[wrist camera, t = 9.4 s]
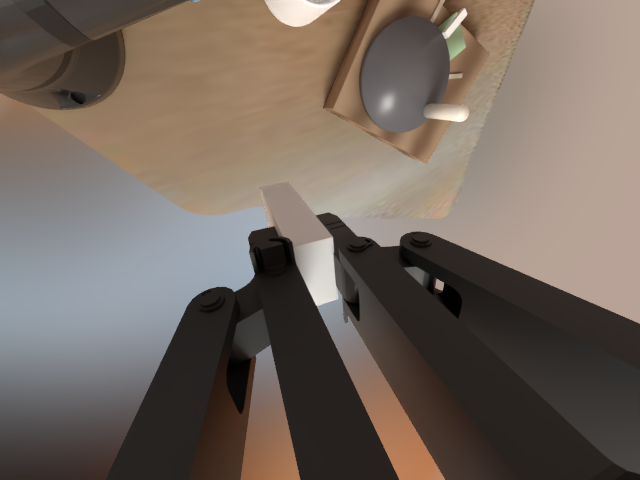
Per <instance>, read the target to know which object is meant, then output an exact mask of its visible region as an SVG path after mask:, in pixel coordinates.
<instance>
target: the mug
mask: <svg viewBox="0 0 640 480" xmlns="http://www.w3.org/2000/svg"><path fill="white" fill-rule="evenodd" d="M339 1H340V0H265V2H266V4H267V6H268V8H269V9H270V11H271V12H272V14H273V15H274V16H275V17H276V18H277V19H278V20H280V21H281V22H283V23H284V24H287V25H289V26H294V27H300V26H304V25H307V24H309V23H311V22H312V21H314V20H315V19H316V18H318V17H319V16H320V15H322V14H323V13H324V12H326V11H327V10H328V9H330V8H331V7H332V6H334V5H335V4H336V3H338V2H339Z"/></svg>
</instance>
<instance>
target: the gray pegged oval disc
mask: <svg viewBox="0 0 640 480" xmlns="http://www.w3.org/2000/svg"><path fill="white" fill-rule="evenodd" d="M466 16H467V12H466V9H465V8H463V9H461V10H460V11H459V13H458V14H457V15H456V16H455V18H454V19H453V20H452V21H451V23H450V24H449V25H448V26H447V28H446V29H445V30H444V31H443V32H441V31H440V29H439V28H438V27H437V26H436V25H435V24H434V23H433V22H432V21H430V20H428V19H426V18H423V17H420V16H408V17H404V18H401V19H399V20H396V21H394V22H392V23H390V24H389V25H387V26H386V27H384V28H383V29H382V30H381V31H380V32H379V33H378V34H377V35H376V36H375V38H374V39H373V41H372V42H371V44H370V45H369V47H368V49H367V51H366V54H365V56H364V59H363V62H362V66H361V71H360V81H359V86H360V96H361V101H362V104H363V107H364V109H365V111H366V113H367V115H368V117H369V118H370V119H371V121H372V122H373V123H374V124H375V125H377V126H378V127H380V128H382V129H383V130H386V131H390V132H396V133H404V132H409V131H412V130H414V129H416V128H418V127H420V126H421V125H423V124H424V123H425V122H426V121H427V120H428V119H429V118H432V119H441V120H450V121H459V122H462V121H464V120H466V119H467V117H468V115H469V107H468V106H467V105H455V104H440V103H441V101H442V99H443V97H444V94H445V92H446V88H447V85H448V80H449V74H450V55H449V50H448V46H447V43H446V40H445V39H446V38H449V36H450V35H451V34H452V33H453V32H454V30H455V29H456V28H457V27H458V25H459V24H460V23H461V22H462V20H463V19H464V18H465V17H466Z"/></svg>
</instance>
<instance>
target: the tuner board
mask: <svg viewBox="0 0 640 480" xmlns="http://www.w3.org/2000/svg"><path fill="white" fill-rule="evenodd" d="M444 1H445V0H439V1H438V0H368V3H367V5H366V7H365V10H364V12H363V15H362V17H361V19H360V22H359V24H358V27H357V29H356V31H355V34H354V36H353V39H352V41H351V43H350V46H349V48H348V50H347V53H346V55H345V58H344V60H343V62H342V65H341V67H340V70H339V72H338V74H337V77H336V79H335V82H334V84H333V86H332V89H331V91H330V93H329V96H328V98H327V101H326V103H325V105H324V109H326V110H328V111H330V112H331V113H333V114H335V115H337V116H338V117H340V118H342V119H344V120H346V121H347V122H349V123H351V124H353V125H354V126H356V127H358V128H360V129H361V130H363V131H365V132H367V133H368V134H370V135H372V136H374V137H375V138H377V139H379V140H381V141H383V142H384V143H386V144H388V145H390V146H391V147H393V148H395V149H397V150H398V151H400V152H402V153H404V154H405V155H407V156H409V157H411V158H412V159H415V160H418V161H421V162H424V163H428V161H429V159H430V158H431V156H432V154H433V152H434V151H435V149H436V147H437V145H438V144H439V142H440V140H441V138H442V137H443V135H444V133H445V131H446V130H447V128H448V126H449V124H450V123H451V121H450V120H441V119H432V118H429V119H428V120H427V121H426V122H425V123H424V124H423V125H421V126H420V127H418V128H416V129H414V130H412V131H409V132H404V133H396V132H390V131H386V130H383V129H382V128H380V127H378V126H377V125H375V124H374V123H373V122H372V121H371V119H370V118H369V117H368V115H367V113H366V111H365V109H364V107H363V104H362V101H361V96H360V86H359V81H360V71H361V66H362V62H363V59H364V56H365V54H366V51H367V49H368V47H369V45H370V44H371V42H372V41H373V39H374V38H375V36H376V35H377V34H378V33H379V32H380V31H381V30H382V29H383V28H384V27H386V26H387V25H389V24H390V23H392V22H394V21H396V20H399V19H401V18H404V17H408V16H420V17H423V18H426V19H428V20H430V21H432V22H433V23H434V24H435V25H436V26H437V27H438V28H439V29H440V31H441V32H443V31H444V30H445V29H446V28H447V26H448V25H449V24H450V23H451V21H452V20H453V19H454V18H455V16H456V15H457V14H458V12H455V13H454V14H453V15H452V14H451V13H450V12H449V11H448V10H447V9H446V8H445V7H444V6H443V3H444ZM445 40H446V43H447V46H448V50H449V55H450V74H449V80H448V85H447V88H446V92H445V94H444V97H443V99H442V101H441V103H440V104H455V105H461V103H462V102H463V100H464V98H465V96H466V95H467V93H468V91H469V89H470V88H471V86H472V84H473V82H474V81H475V79H476V77H477V75H478V74H479V72H480V70H481V68H482V67H483V65H484V63H485V61H486V60H487V58H488V56H489V53H488V52H487V51H486V49H485V48H484V47H483V46H482V45H481V44H480V43H479V42H478V41H477V40H476V39H475V38H474V37H473V36H472V35H471V34H470V33H469V32H468V31H467V30H466V29H465V28H464V27H463V26H462V25H461V24H459V25H458V27H457V28H456V29H455V30H454V32H453V33H452V34H451V35H450V36H449V38H446V39H445Z"/></svg>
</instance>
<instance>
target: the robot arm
mask: <svg viewBox="0 0 640 480" xmlns="http://www.w3.org/2000/svg"><path fill="white" fill-rule="evenodd" d="M186 1H188V0H0V93H1V94H3V95H5V96H7V97H9V98H11V99H14V100H17V101H19V102H22V103H25V104H28V105H32V106H36V107H40V108H46V109H54V110H70V109H80V108H86V107H89V106H92V105H95V104H97V103H99V102H101V101H103V100H105V99H106V98H107V97H108V96H110V95H111V94H112V93H113V91H114V90H115V89H116V87H117V86H118V84H119V82H120V80H121V78H122V75H123V71H124V66H125V48H124V42H123V37H122V33H121V30H120V29H123V28H125V27H127V26H130V25H132V24H134V23H137V22H139V21H141V20H144V19H146V18H148V17H151V16H153V15H156V14H158V13H160V12H163V11H165V10H167V9H170V8H172V7H174V6H177V5H179V4H181V3H184V2H186ZM191 1H192V2H198V1H200V0H191ZM260 189H261V194H262V198H263V203H264V207H265V212H266V216H267V221H268V225H269V228H265V229H261V230H256V231H252V232H251V234H250V236H249V237H248V240H249V245H250V251H249V253H250V257H251V261H252V265H253V268H254V272H255V275H254V278H253V279H252V280H251V282H250V283H249V284H247V285H246V286H245V287H243V288H241V289H239V290H238V291H236V292H233V291H232V289H229V288H227V287H216V288H212V289H208V290H206V291H204V292H202V293H200V294H199V295H197V296H196V297H195V298H193V299H192V301H191V302H190V303H189V305H188V306H187V308H186V310H185V313H184V315H183V317H182V319H181V321H180V323H179V325H178V327H177V330H176V332H175V334H174V336H173V338H172V340H171V343H170V345H169V346H168V349H167V351H166V353H165V355H164V357H163V359H162V361H161V363H160V366H159V368H158V370H157V372H156V374H155V376H154V378H153V380H152V383H151V385H150V387H149V389H148V391H147V393H146V395H145V397H144V400H143V402H142V404H141V406H140V408H139V410H138V412H137V414H136V416H135V419H134V421H133V423H132V425H131V427H130V429H129V431H128V433H127V436H126V438H125V440H124V442H123V444H122V446H121V448H120V450H119V452H118V455H117V457H116V459H115V461H114V463H113V465H112V467H111V469H110V472H109V474H108V476H107V478H106V480H240V478H241V470H242V463H243V455H244V447H245V440H246V432H247V424H248V417H249V408H250V400H251V393H252V385H253V378H254V370H255V363H256V354H257V353H259V352H260V351H262V350H263V349H265V348H266V347H268V346H269V345H271V348H272V353H273V357H274V361H275V366H276V371H277V375H278V379H279V384H280V389H281V393H282V398H283V402H284V407H285V411H286V416H287V420H288V425H289V429H290V434H291V439H292V443H293V448H294V452H295V457H296V461H297V466H298V470H299V475H300V479H301V480H399V478H398V476H397V474H396V472H395V470H394V468H393V466H392V464H391V462H390V459H389V457H388V455H387V453H386V451H385V449H384V448H383V445H382V443H381V441H380V438H379V436H378V434H377V432H376V430H375V428H374V426H373V424H372V422H371V420H370V417H369V415H368V413H367V411H366V409H365V407H364V405H363V403H362V401H361V399H360V397H359V394H358V392H357V390H356V388H355V386H354V384H353V382H352V380H351V378H350V376H349V373H348V371H347V369H346V367H345V365H344V363H343V361H342V359H341V357H340V355H339V353H338V350H337V348H336V346H335V344H334V342H333V340H332V338H331V336H330V334H329V332H328V329H327V327H326V325H325V323H324V321H323V319H322V317H321V315H320V313H319V311H318V308H317V306H318V305H321V304H324V303H327V302H330V301H333V300H337V299H338V291H337V288H338V290H339V291H340V293H341V294H342V301H343V315H344V321H345V323H347V322H348V318H347V316H349V317H350V319H351V321H352V323H353V324H354V326H355V328H356V329H357V331H358V333H359V334H360V336H361V338H362V339H363V341H364V343H365V345H366V346H367V348H368V350H369V351H370V353H371V354H372V356H373V358H374V360H375V361H376V363H377V364H378V366H379V368H380V370H381V371H382V373H383V375H384V377H385V378H386V380H387V382H388V383H389V385H390V387H391V388H392V390H393V392H394V394H395V395H396V397H397V398H398V400H399V402H400V404H401V405H402V407H403V409H404V410H405V412H406V414H407V415H408V417H409V419H410V420H411V422H412V424H413V426H414V427H415V429H416V431H417V432H418V434H419V435H420V437H421V439H422V441H423V443H424V444H425V446H426V447H427V449H428V451H429V453H430V454H431V456H432V458H433V459H434V461H435V463H436V464H437V466H438V468H439V469H440V471H441V473H442V474H443V476H444V478H445V480H640V324H639V323H637V322H634V321H632V320H630V319H627V318H625V317H623V316H620V315H618V314H616V313H614V312H611V311H609V310H606V309H604V308H602V307H600V306H597V305H595V304H593V303H590V302H588V301H586V300H583V299H581V298H579V297H576V296H574V295H572V294H570V293H567V292H565V291H563V290H560V289H558V288H556V287H553V286H551V285H549V284H546V283H544V282H542V281H539V280H537V279H535V278H532V277H530V276H528V275H525V274H523V273H521V272H519V271H516V270H514V269H512V268H509V267H507V266H504V265H502V264H500V263H498V262H495V261H493V260H491V259H488V258H486V257H484V256H481V255H479V254H477V253H475V252H472V251H470V250H467V249H465V248H463V247H461V246H458V245H456V244H454V243H451V242H449V241H447V240H444V239H442V238H440V237H437V236H435V235H433V234H429V233H426V232H411V233H407V234H405V235H403V236H402V237H401V239H400V246H392V247H380V246H379V245H378V244H377V243H376V242H375V241H373V240H372V239H370V238H366V237H357V236H356V235H355V234H354V233H353V232H352V231H351V230H350V229H349V228H348V227H347V226H346V225H345V224H344V223H343V222H342V220H340V218H339V217H338V216H336V215H333V214H331V213H325V214H320V215H316V216H315V214H314V213H313V212H312V211H311V209H310V208H309V207H308V206H307V204H306V203H305V202H304V201H303V200H302V198H301V197H300V196H299V195H298V193H297V192H296V191H295V190H294V189H293V187H292V186H291V185H290V184H289V182H286V183H281V184H276V185H271V186H266V187H261V188H260ZM436 278H437V279H439V280H440V281H442V282H444V288H443V291H441V290H438V289H436V288H435V284H436Z"/></svg>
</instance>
